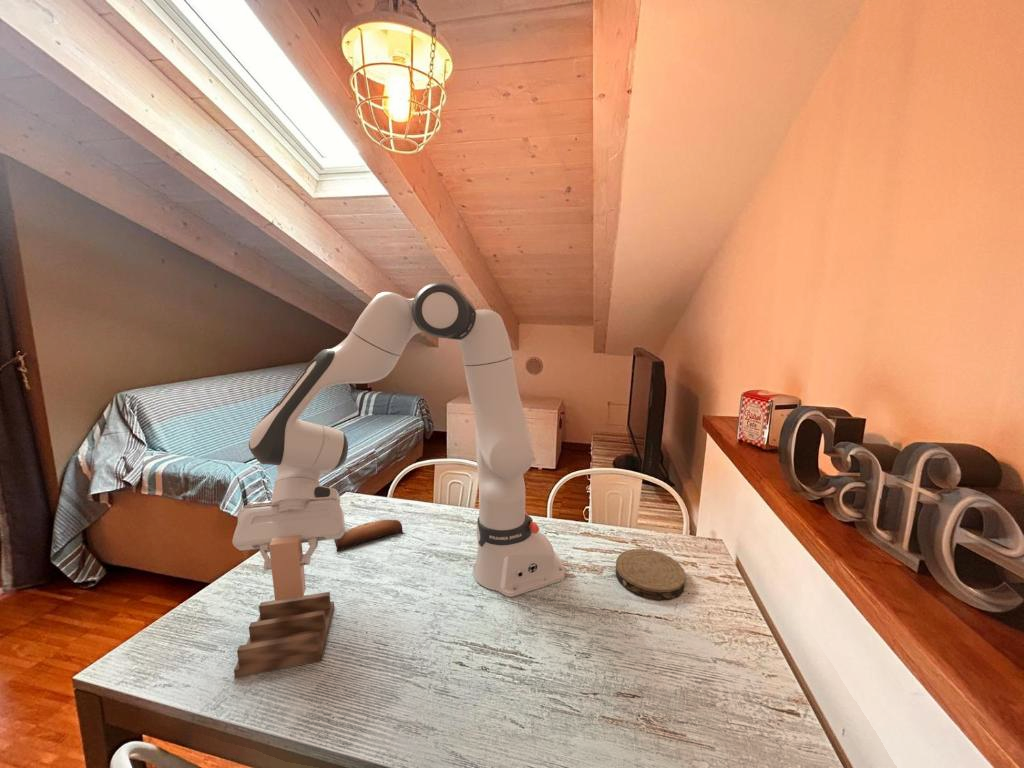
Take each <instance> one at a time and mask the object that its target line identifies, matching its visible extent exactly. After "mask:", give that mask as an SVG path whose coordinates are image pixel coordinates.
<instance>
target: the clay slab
mask: <svg viewBox="0 0 1024 768" xmlns="http://www.w3.org/2000/svg"><path fill="white" fill-rule="evenodd" d="M269 549H270V552H269V558H270V559H271V568H272V570H271V575H272V576H271V577H272V585H273V586H272V587H273V594H274V600H275V601H279V600H286V599H292V598H299V597H303V596H305V593H306V589H307V587H306V576H305V565H303V566H301V565H300V560H301V555H303V554H304V553H303V543H302V541H301V535H298V536H289V537H281V538H273V539H272V541H271V543H270V544H269Z"/></svg>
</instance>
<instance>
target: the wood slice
mask: <svg viewBox="0 0 1024 768" xmlns="http://www.w3.org/2000/svg"><path fill="white" fill-rule="evenodd" d="M615 561H616V562H615V578H616V580H617V581H618V583H619V585H621V586H622V587H623V588H624V589H625V590H626V591H627V592H629V593H631V594H633V595H635V596H637V597H639V598H642V599H646V600H647V601H648V600H650V601H656V602H662V601H663V602H664V601H665V602H667V601H672V600H674V599H677V598H679V597H680V596H681V595H683V593H684V591H685V587H686V578H687V576H686V572H685V569H684V567H682V566H681V564H680V563H679V562H678V561H677V560H675V559H674V558H672V557H671V556H668V555H667V554H665V553H663V552H659V551H655V550H652V549H646V548H634V549H628V550H625V551H623V552H622V553H620V554H618V557H617V558H616V560H615Z"/></svg>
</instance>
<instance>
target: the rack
mask: <svg viewBox="0 0 1024 768" xmlns="http://www.w3.org/2000/svg"><path fill="white" fill-rule="evenodd" d="M334 610H335V601H333V600H332V601H331V592H330V591H326V592H319V593H313V594H307V595H305V594H304V596H303V597H299V598H292V599H286V600H279V601H275V599H274V600H267V601H262V602H260V603H259V606H258V611H259V617H258V619H257V620H256V621H253V622H250V624H249V626H248V633H249V638H248V640H247V642H246V643H245V644H241V645H239V646H238V648H237V650H236V654H237V663H236V665H235V667H234V669H233V673H234V678H239V677H245V676H249V675H250V676H251V675H255V674H256V675H257V674H261V673H265V672H270V671H277V670H281V669H286V668H291V667H297V666H301V665H307V664H312V663H317V662H318V663H319V662H321V661H322V660H323V657H324V653H325V648H326V646H327V645H326V644H327V640H328V637H327V636H329V631H330V628H329V627H331V624H330V623H332V620H331V619H333V615H334Z"/></svg>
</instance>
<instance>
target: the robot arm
mask: <svg viewBox="0 0 1024 768" xmlns="http://www.w3.org/2000/svg"><path fill="white" fill-rule="evenodd" d="M504 323H505V322H504V319H503V318H502V317H501V315H500V314H499V313H498V312H496V311H494V310H491V309H487V308H486V309H484V308H482V309H475V308H474V307H473V306H472V305H471V304H470V302H469V301H468V300H467V299H466V297H465V296H464V295H463V293H462V292H461V291H460V290H458V289H457V288H456V287H455V286H452V285H451V284H448V283H446V282H434V283H433V282H432V283H430V284H427V285H425V286H424V287H423V288H421V289H420V290H419V291H418V292H417V294H416V295H415V297H413V298H408V297H405V296H403V295H400V294H398V293H396V292H392V291H391V292H390V291H382V292H380V293H378V294H376V295H375V296H374V298H372V300H371V301H370V302H369V303H368V305H367V306H366V307H365V308H364V310H363V311H362V312H361V314H360V315H359V317H358V319H357V320H356V322H355V323H354V325H353V326H352V328H351V331H350V332H349V334H348V335H347V337H345V338H344V339H343V340H342V341H341V342H340V343H339V344H337V345H336V346H334V347H332V348H327V349H326V348H325V349H323V350H321V351H319V352H318V353H317V355H315V356H314V357H313V359H312V360H310V362H309V363H308V364H307V365H306V366H305V368H304V369H303V370H302V371H301V372H300V373H299V375H298V376H297V378H296V379H295V380H294V381H293V383H291V385H290V386H289V388H288V389H287V390H286V392H285V393H284V394H283V395H282V397H281V398H280V399H279V400H278V401H277V403H275V405H274V406H273V408H271V410H270V411H269V412H267V413H266V415H264V417H262V418H261V419H260V421H259V422H258V423H256V426H255V427H254V429H253V431H252V432H251V435H250V438H249V441H248V449H249V450H250V452H251V454H252V456H253V457H254V458H255V460H257V462H258V463H260V464H261V465H270V466H276V468H277V477H276V479H275V481H274V485H273V491H272V497H271V500H265V501H260V502H259V501H258V502H256V501H255V502H254V501H253V502H249V503H248V504H247V505H244V506H242V508H240V509H239V511H238V514H237V524H236V527H235V529H234V530H235V531H234V533H233V536H232V542H231V543H232V545H233V546H234V547H235V548H236V549H237V550H239V551H249V550H255V549H259V553H260V555H261V556H262V559H263V560H264V562H263V570H264V571H272V568H271V558H270V549H269V544H270V543H271V541H272V539H273V538H281V537H289V536H298V535H301V541H302V544H305V543H306V544H308V546H309V547H308V549H307V551H306V552H305V554H304V553H303V555H301V560H300V565H301V566H303V565H304V566H308V565H311V558H312V557H311V556H312V555H313V554H314V553H315V551H316V550H317V548H318V546H319V542H321V541H330V540H334V539H339V538H341V537H342V536H343V535H344V533H345V531H346V529H345V527H346V526H345V525H346V523H345V521H346V520H345V515H344V511H343V509H342V506H341V496H340V494H339V492H338V490H337V489H336V488H334V487H330V486H325V485H320V477H321V475H327V474H329V473H331V472H333V471H335V470H336V469H338V468H340V467H341V466H343V464H345V462H346V460H347V457H348V453H349V442H348V438H347V436H346V434H345V433H344V431H343V430H340V429H337V428H335V427H331V426H328V425H323V424H319V423H318V424H317V423H314V422H310V421H305V420H303V419H299V418H300V417H301V416H302V414H303V413H304V412H305V410H306V409H307V408H308V406H309V405H311V403H312V401H313V400H314V399H315V397H316V396H317V395H319V393H320V392H321V391H322V390H324V389H326V388H329V387H332V386H336V385H343V384H370V383H375V382H377V381H381V380H383V379H384V378H386V377H387V376H388V375H389V374H390V373H391V372H392V371H393V370H394V368H395V366H396V365H397V364H398V361H399V359H401V356H402V354H403V352H404V350H405V349H406V346H407V345H408V343H409V341H410V340H411V339H412V337H414V336H415V335H416V334H419V333H425V334H427V335H429V336H431V337H435V338H438V339H439V338H441V339H450V340H455V341H456V342H457V343H458V345H459V349H460V352H461V357H462V362H463V368H464V374H465V380H466V385H467V389H468V395H469V400H470V404H471V409H472V412H473V417H474V422H475V426H476V428H475V447H476V448H475V450H476V467H477V468H476V469H477V470H476V471H477V480H478V481H477V482H478V512H479V513H478V517H477V525H476V539H477V546H478V547H477V551H476V552H477V553H476V557H475V558H476V559H475V563H474V566H473V569H472V574H473V578H474V579H475V581H476V582H477V583H478V584H479V585H481V586H482V587H484V588H487V589H489V590H492V591H497V592H499V593H501V594H503V595H504V596H505V597H509V598H510V597H511V598H512V597H516V596H519V595H522V594H525V593H528V592H531V591H535V590H536V589H540V588H543V587H546V586H550V585H552V584H556V583H558V582H561V581H563V580H565V577H566V572H565V570H566V569H565V566H564V563H563V561H562V559H561V558H560V556H559V555H558V554H557V553H556V552H555V551H554V547H553V545H552V543H551V542H550V540H549V539H548V538H547V536H546V535H545V534H543V533H541V532H540V531H539V530H540V527H539V526H538V524H537V522H534V521H533V518H532V517H531V516H530V515H529V514H528V513H527V512H526V484H525V479H524V475H525V474H526V473H527V472H528V471H529V469H530V468H531V466H532V464H533V462H534V455H535V454H534V453H535V452H534V448H533V447H534V446H533V444H532V440H531V436H530V435H531V434H530V432H529V427H528V421H527V417H526V414H525V410H524V407H523V403H522V400H521V397H520V392H519V388H518V381H517V376H516V370H515V369H516V368H515V363H514V358H513V352H512V346H511V343H510V337H509V335H508V331H507V329H506V326H505V324H504Z"/></svg>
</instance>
